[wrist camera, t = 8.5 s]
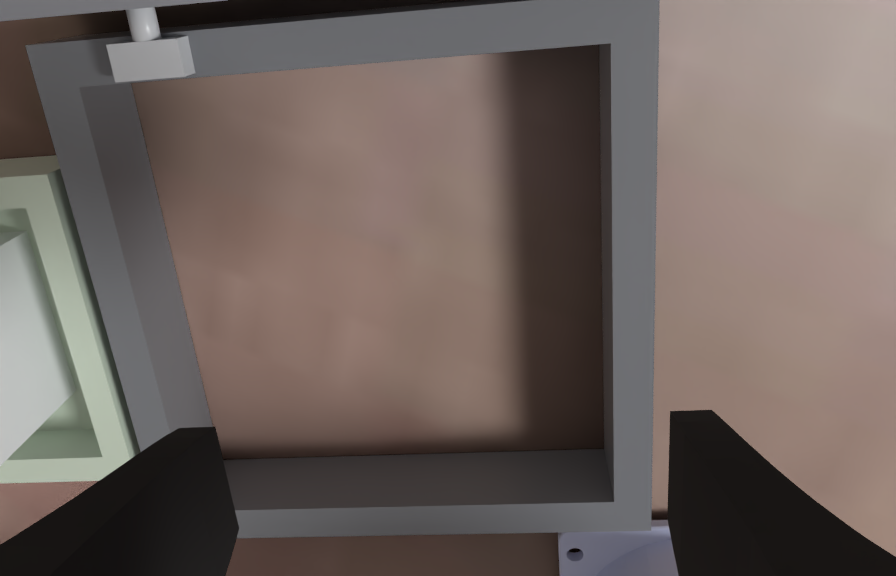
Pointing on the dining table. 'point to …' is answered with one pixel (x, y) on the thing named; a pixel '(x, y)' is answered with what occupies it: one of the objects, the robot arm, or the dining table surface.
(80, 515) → the robot arm
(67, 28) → the dining table surface
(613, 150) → the case
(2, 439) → the block
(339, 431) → the dining table surface
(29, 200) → the bay
